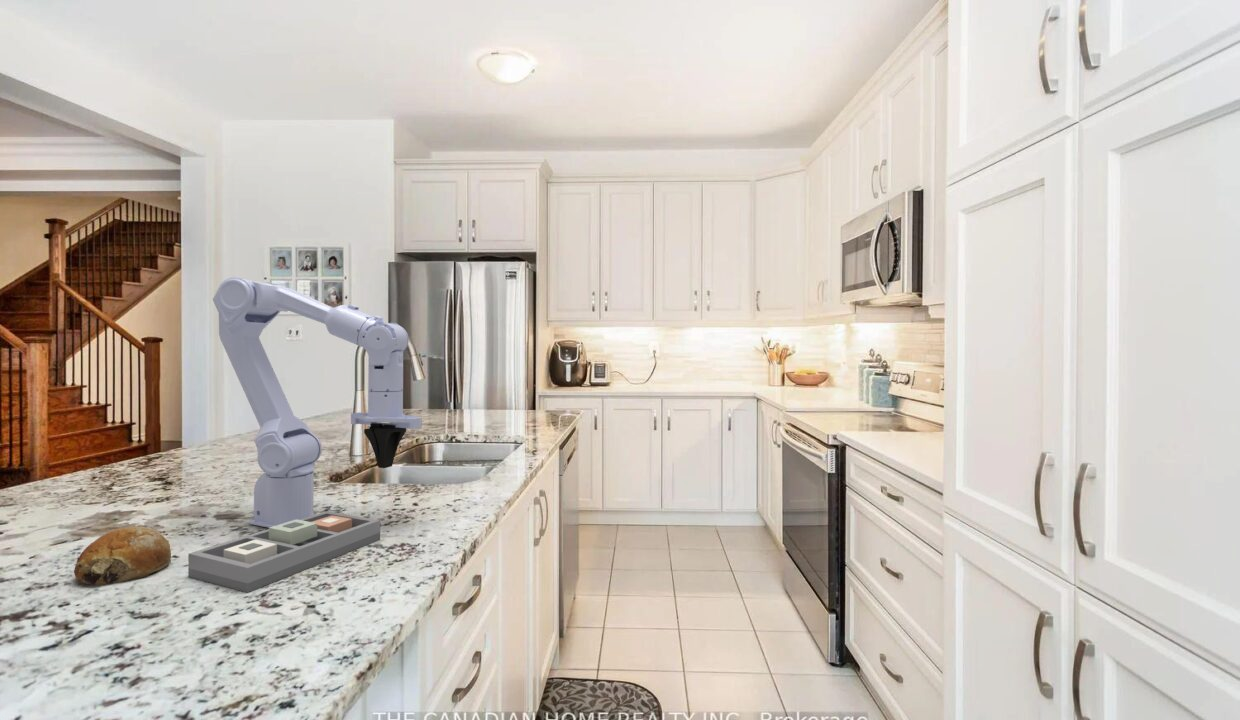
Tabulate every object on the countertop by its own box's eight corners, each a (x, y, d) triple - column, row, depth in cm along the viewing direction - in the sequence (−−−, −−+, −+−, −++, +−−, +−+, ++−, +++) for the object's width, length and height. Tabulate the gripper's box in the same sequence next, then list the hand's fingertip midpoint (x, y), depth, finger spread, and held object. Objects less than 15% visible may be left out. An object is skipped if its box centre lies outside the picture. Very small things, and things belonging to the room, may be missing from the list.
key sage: (268, 541, 83) (268, 527, 83) (296, 532, 87) (296, 518, 87) (290, 545, 81) (290, 531, 81) (317, 536, 86) (317, 522, 86)
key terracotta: (307, 535, 89) (307, 522, 89) (331, 527, 93) (331, 514, 93) (328, 539, 87) (328, 526, 87) (351, 531, 92) (352, 518, 92)
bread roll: (174, 594, 79) (199, 536, 83) (95, 589, 71) (126, 524, 74) (128, 583, 83) (154, 527, 86) (47, 577, 74) (79, 516, 77)
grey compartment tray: (188, 576, 76) (188, 553, 76) (327, 529, 97) (327, 511, 97) (247, 592, 72) (247, 568, 72) (380, 539, 92) (380, 520, 92)
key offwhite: (223, 564, 77) (223, 548, 77) (255, 553, 81) (255, 538, 81) (245, 569, 75) (245, 554, 75) (276, 558, 80) (277, 543, 80)
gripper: (336, 390, 98) (336, 467, 99) (400, 394, 93) (400, 475, 93) (368, 387, 105) (368, 460, 105) (430, 391, 99) (429, 467, 100)
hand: (385, 466), depth 100 cm, fingers closed
